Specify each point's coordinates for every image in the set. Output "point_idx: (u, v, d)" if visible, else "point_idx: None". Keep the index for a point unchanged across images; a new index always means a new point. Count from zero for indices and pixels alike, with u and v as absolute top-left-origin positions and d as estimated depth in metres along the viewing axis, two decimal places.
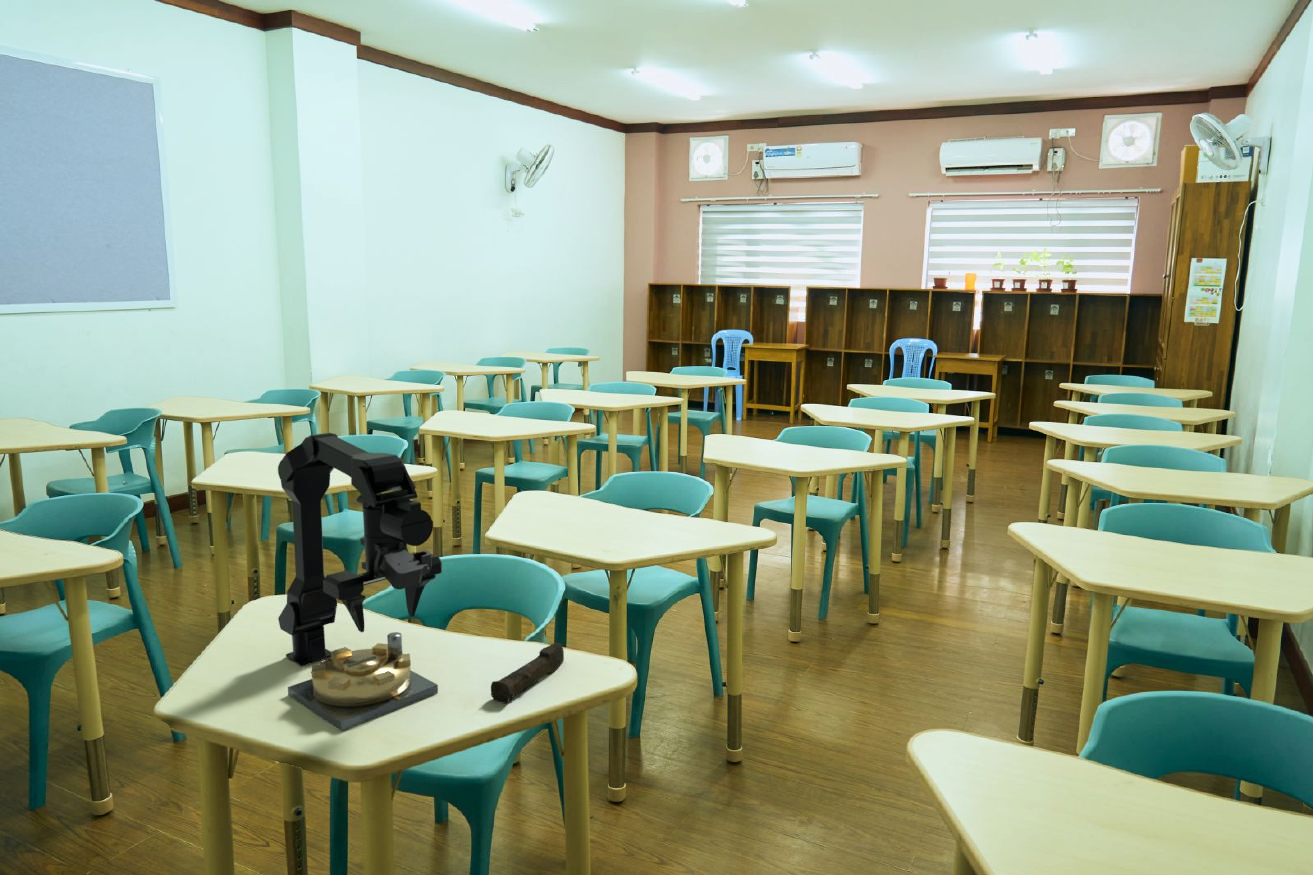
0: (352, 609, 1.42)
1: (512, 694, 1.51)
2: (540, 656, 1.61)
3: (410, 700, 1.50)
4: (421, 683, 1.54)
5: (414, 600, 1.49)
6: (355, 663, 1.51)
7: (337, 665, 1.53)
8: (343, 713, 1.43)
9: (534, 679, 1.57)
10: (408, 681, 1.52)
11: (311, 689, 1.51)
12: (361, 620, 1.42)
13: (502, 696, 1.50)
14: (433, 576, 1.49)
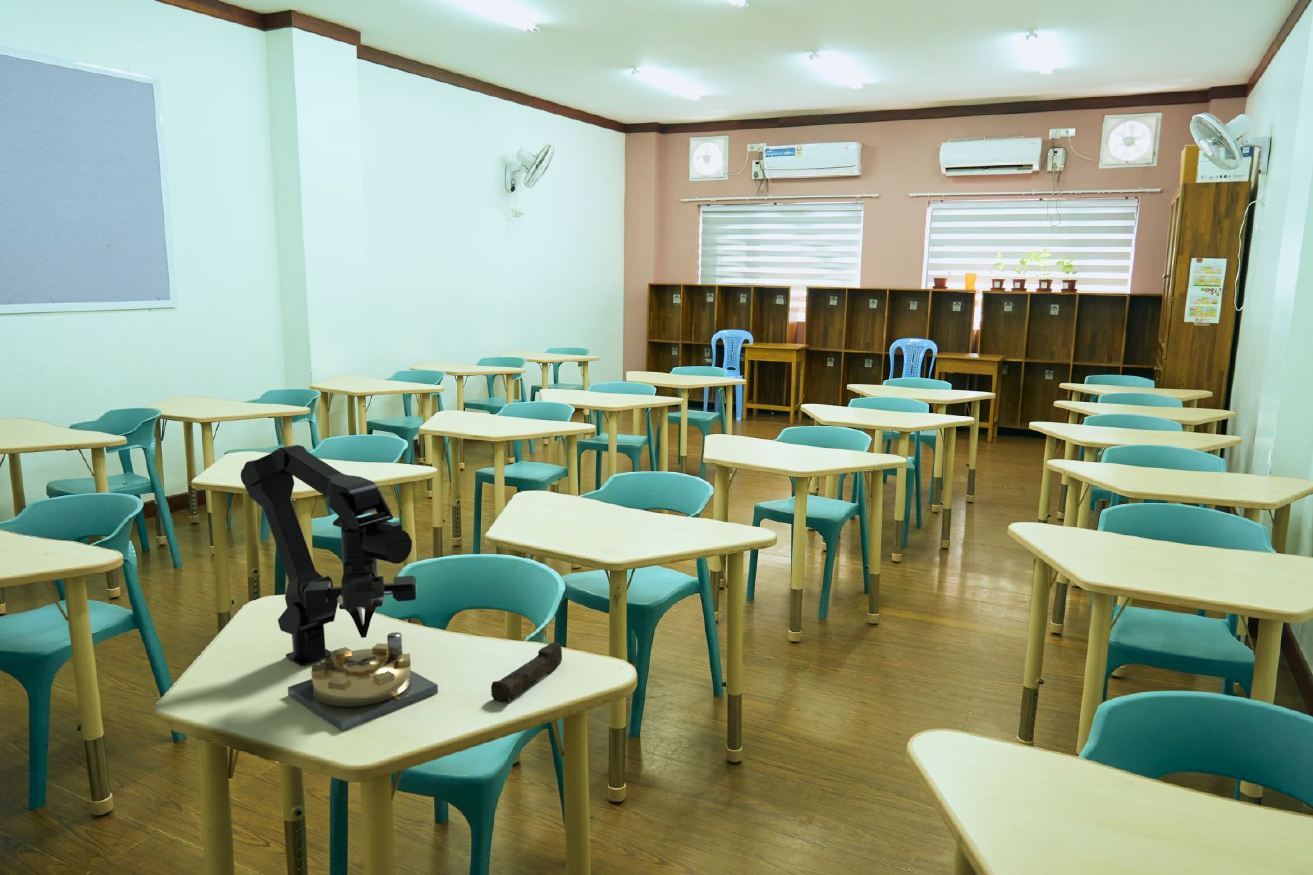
0: None
1: (513, 694, 1.51)
2: (539, 656, 1.61)
3: (410, 700, 1.50)
4: (421, 683, 1.54)
5: (364, 622, 1.56)
6: (355, 663, 1.51)
7: (337, 665, 1.53)
8: (343, 713, 1.43)
9: (534, 679, 1.57)
10: (408, 681, 1.52)
11: (311, 689, 1.51)
12: (359, 627, 1.56)
13: (503, 696, 1.50)
14: (379, 604, 1.55)
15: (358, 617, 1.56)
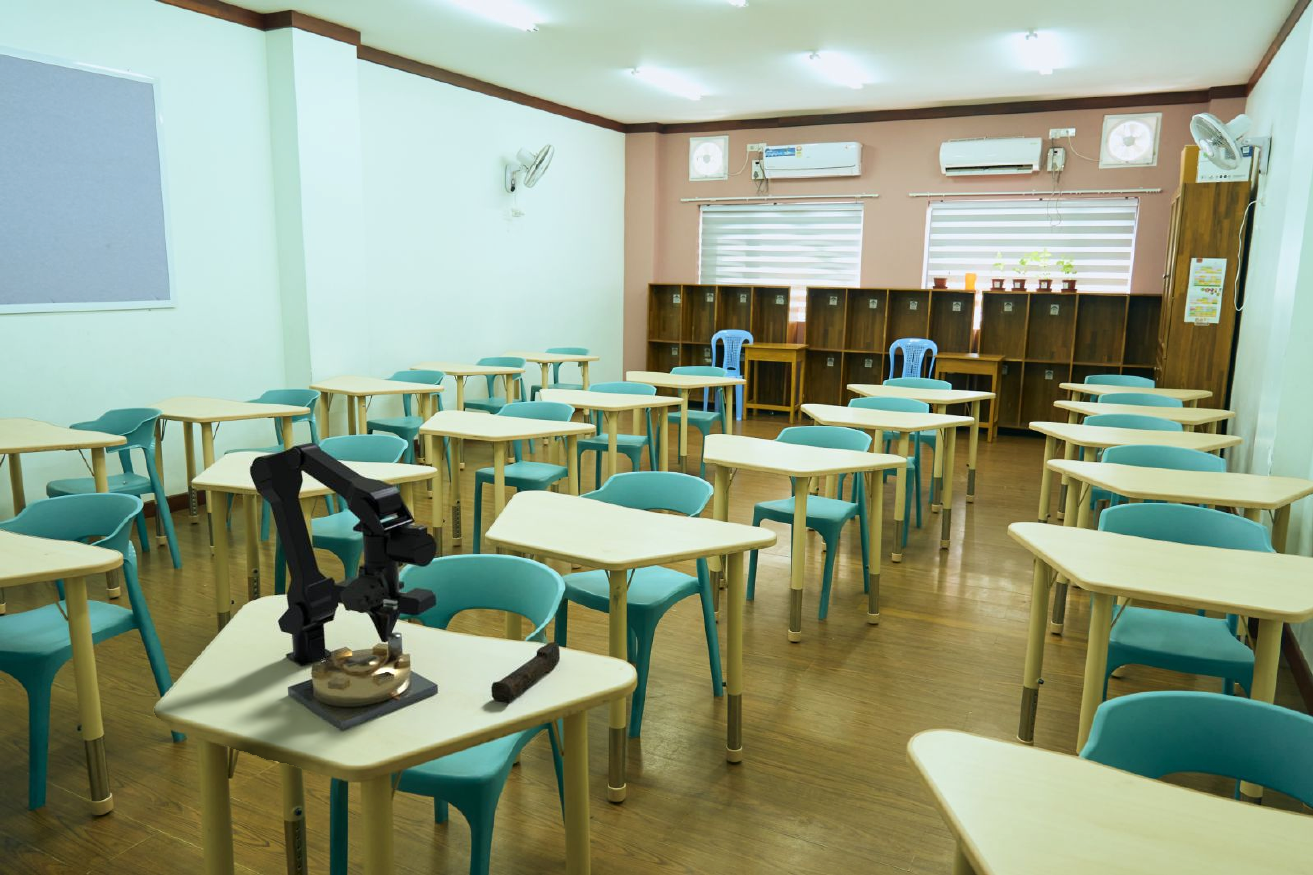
0: None
1: (513, 694, 1.51)
2: (538, 656, 1.61)
3: (410, 700, 1.50)
4: (421, 683, 1.54)
5: (382, 627, 1.56)
6: (355, 663, 1.51)
7: (337, 665, 1.53)
8: (343, 713, 1.43)
9: (533, 679, 1.57)
10: (408, 681, 1.52)
11: (311, 689, 1.51)
12: (378, 630, 1.57)
13: (504, 697, 1.50)
14: (387, 612, 1.53)
15: (376, 621, 1.56)
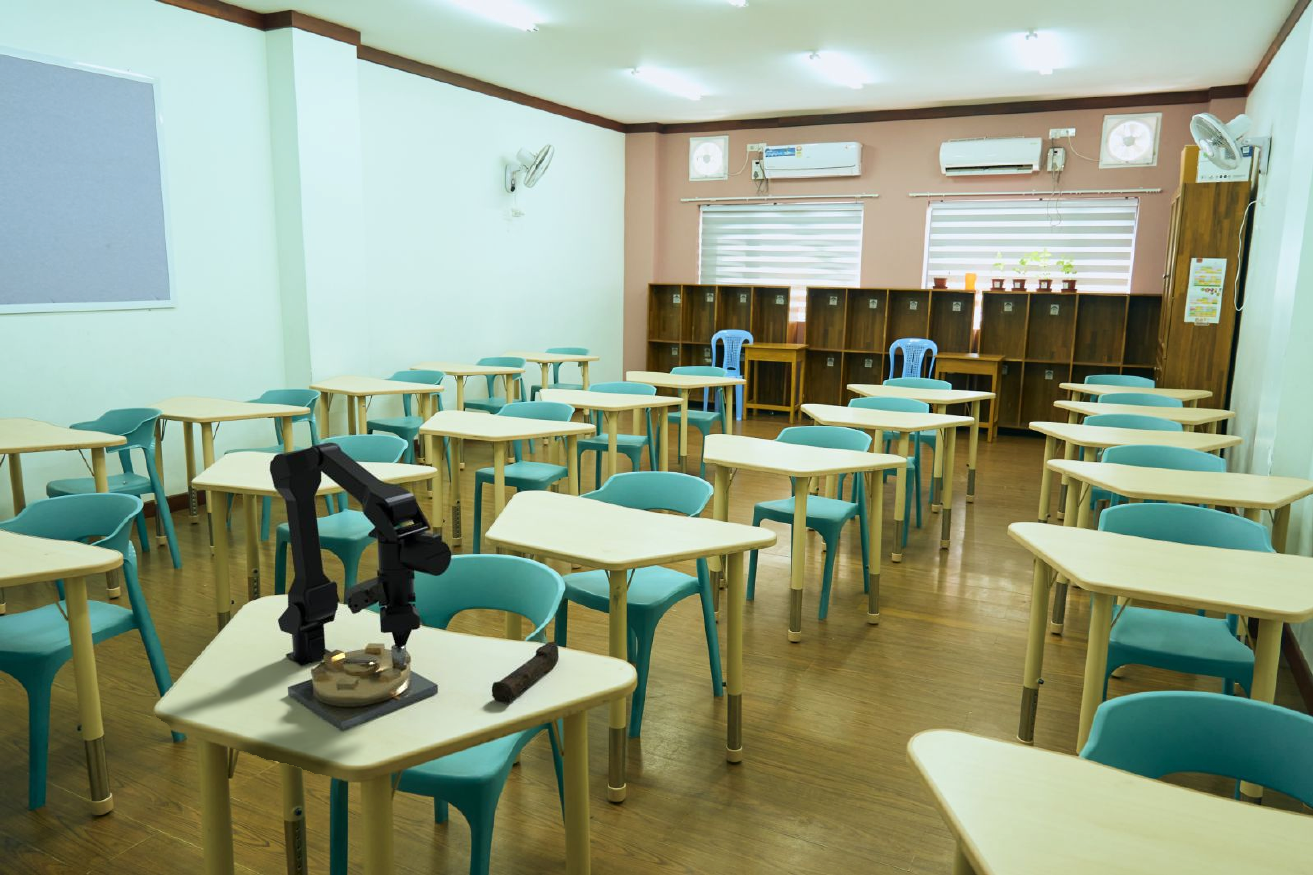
0: None
1: (514, 694, 1.51)
2: (537, 655, 1.61)
3: (410, 700, 1.50)
4: (421, 683, 1.54)
5: None
6: (353, 661, 1.52)
7: None
8: (343, 713, 1.43)
9: (533, 678, 1.57)
10: (381, 697, 1.47)
11: (311, 689, 1.51)
12: None
13: (505, 697, 1.50)
14: None
15: None
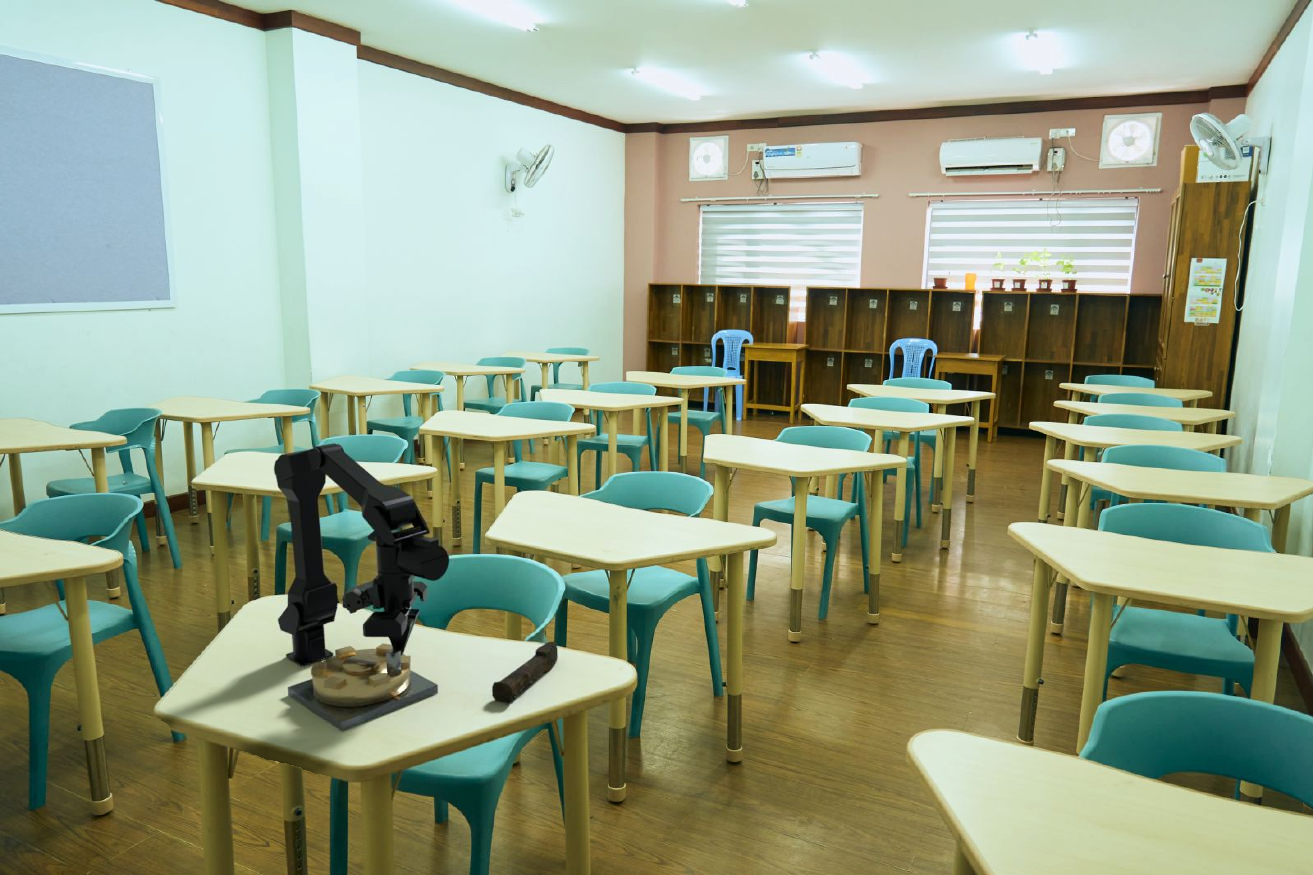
0: None
1: (514, 694, 1.51)
2: (536, 655, 1.61)
3: (410, 700, 1.50)
4: (421, 683, 1.54)
5: None
6: (353, 660, 1.52)
7: None
8: (343, 713, 1.43)
9: (533, 678, 1.57)
10: (365, 700, 1.45)
11: (311, 689, 1.51)
12: None
13: (505, 697, 1.50)
14: None
15: None
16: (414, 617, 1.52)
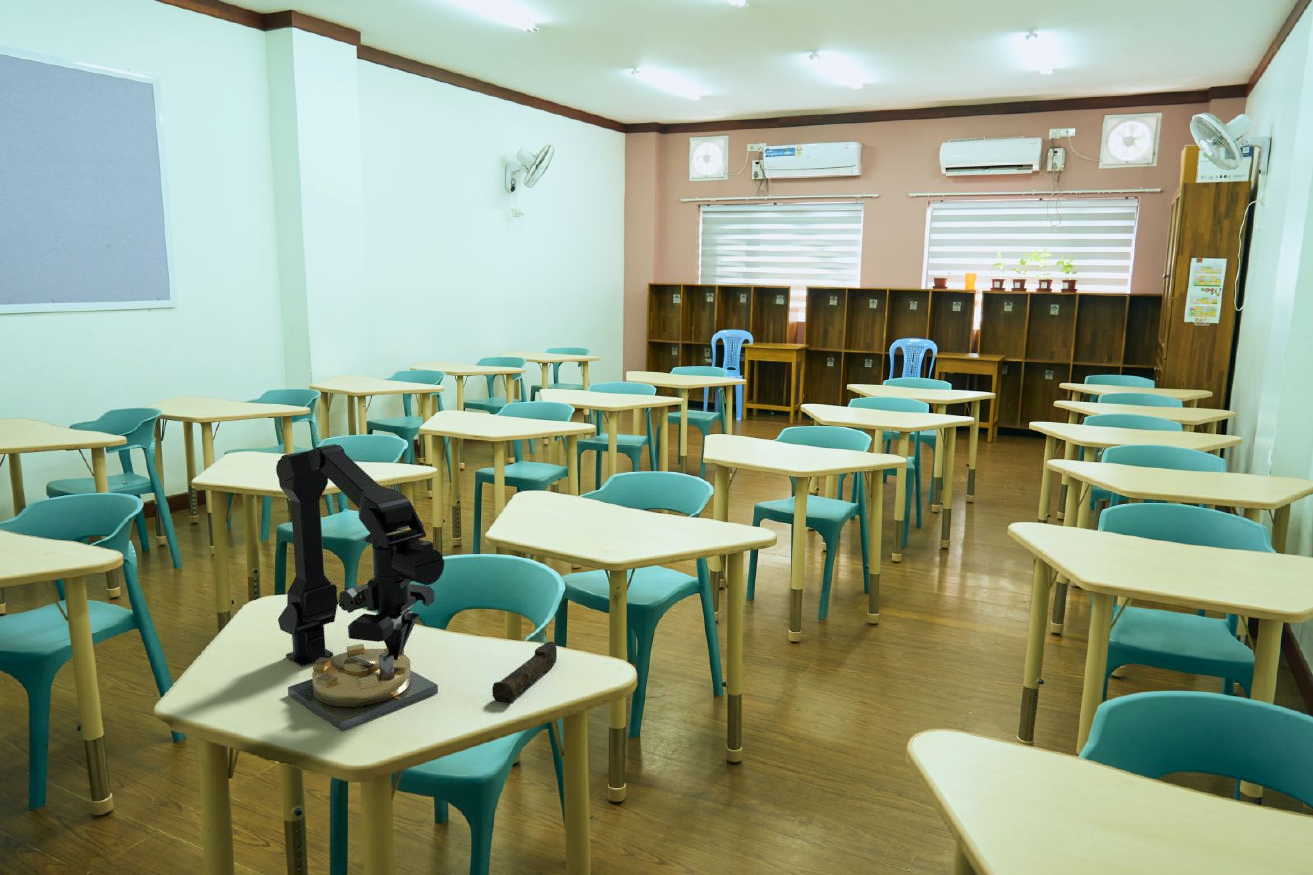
0: None
1: (514, 694, 1.51)
2: (536, 655, 1.61)
3: (410, 700, 1.50)
4: (421, 683, 1.54)
5: None
6: (354, 659, 1.52)
7: None
8: (343, 713, 1.43)
9: (533, 678, 1.57)
10: (352, 702, 1.45)
11: (311, 689, 1.51)
12: None
13: (505, 697, 1.50)
14: None
15: None
16: (410, 622, 1.49)
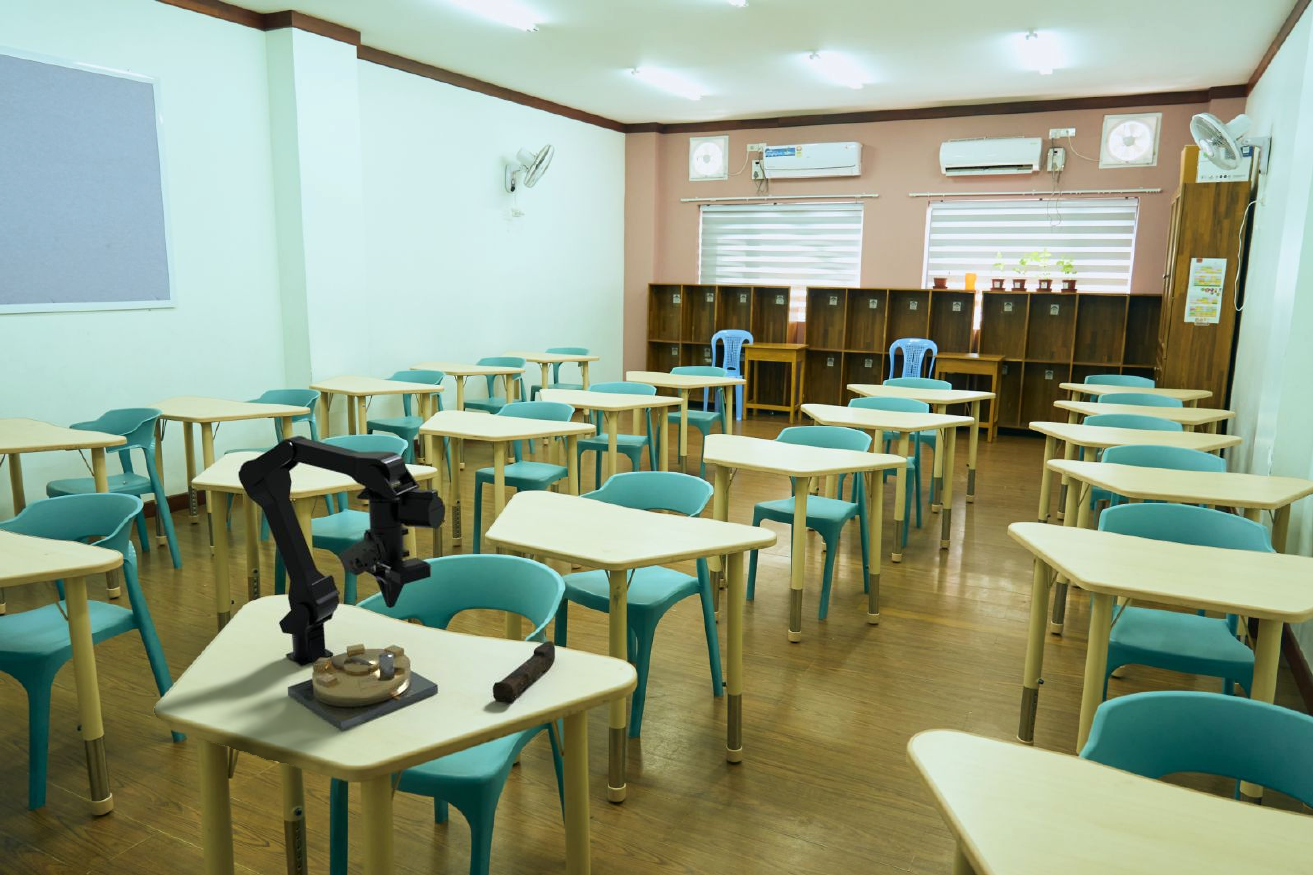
0: None
1: (515, 694, 1.51)
2: (535, 655, 1.61)
3: (410, 700, 1.50)
4: (421, 683, 1.54)
5: (385, 593, 1.59)
6: (354, 659, 1.52)
7: None
8: (343, 713, 1.43)
9: (532, 678, 1.57)
10: (352, 702, 1.45)
11: (311, 689, 1.51)
12: (383, 595, 1.60)
13: (506, 697, 1.50)
14: (384, 578, 1.55)
15: (381, 585, 1.59)
16: None
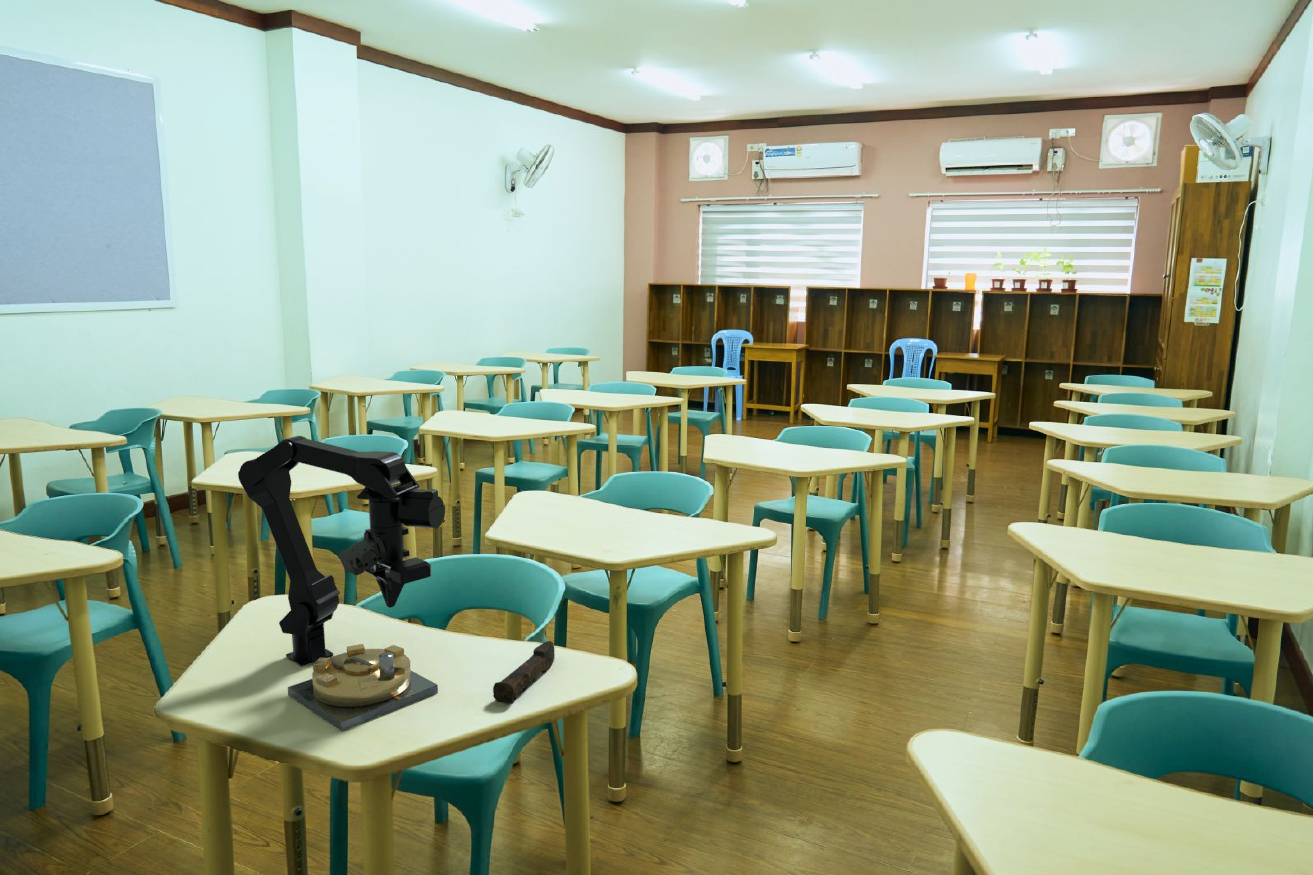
0: None
1: (515, 694, 1.51)
2: (535, 655, 1.61)
3: (410, 700, 1.50)
4: (421, 683, 1.54)
5: (385, 592, 1.59)
6: (354, 659, 1.52)
7: None
8: (343, 713, 1.43)
9: (533, 678, 1.57)
10: (352, 702, 1.45)
11: (311, 689, 1.51)
12: (383, 595, 1.60)
13: (506, 697, 1.50)
14: (385, 577, 1.56)
15: (381, 585, 1.59)
16: None
